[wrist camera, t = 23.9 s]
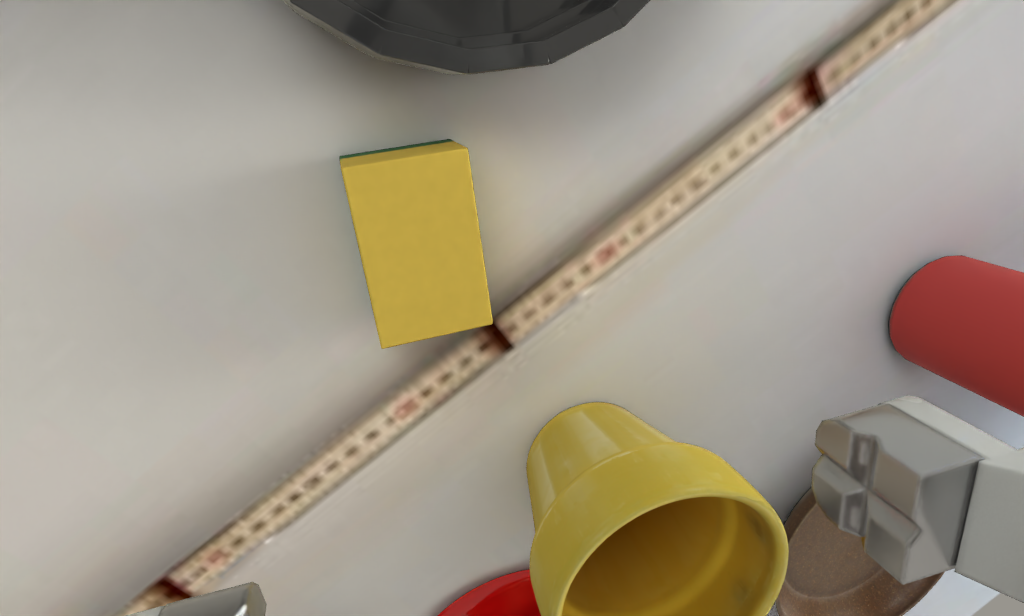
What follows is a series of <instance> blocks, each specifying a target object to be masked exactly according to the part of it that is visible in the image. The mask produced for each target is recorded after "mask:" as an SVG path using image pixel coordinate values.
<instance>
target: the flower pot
mask: <svg viewBox="0 0 1024 616" xmlns="http://www.w3.org/2000/svg"><path fill="white" fill-rule="evenodd" d="M526 469H527V478H528V485H529V491H530V498H531V505H532V512H533V519H534V526H535V536H534V539H533V543H532V547H531V552H530V577H531V583H532V587H533V590H534V594H535V598H536V601H537V604H538V607H539V610H540V614H541V616H766V615H767V614H768V612H769V611H770V609H771V607H772V606H773V604H774V602H775V600H776V599H777V597H778V595H779V592H780V590H781V588H782V585H783V582H784V579H785V575H786V571H787V565H788V553H789V549H788V541H787V535H786V532H785V529H784V526H783V524H782V522H781V520H780V518H779V516H778V515H777V513H776V512H775V510H774V509H773V507H772V506H771V505H770V504H769V503H768V502H767V501H766V500H765V499H764V498H763V496H762V495H761V494H760V493H759V492H758V491H757V490H756V489H755V488H754V487H753V486H752V485H751V484H750V483H749V482H748V481H747V480H746V479H745V478H743V477H742V476H741V475H740V474H739V473H738V472H737V471H736V470H735V469H734V468H732V467H731V466H730V465H729V464H728V463H727V462H725V461H724V460H723V459H722V458H720V457H719V456H717V455H716V454H714V453H712V452H711V451H709V450H706V449H704V448H701V447H698V446H695V445H691V444H687V443H679V442H675V441H674V440H672V439H670V438H669V437H667V436H666V435H664V434H663V433H661V432H660V431H658V430H656V429H655V428H653V427H652V426H650V425H648V424H647V423H645V422H644V421H642V420H641V419H639V418H638V417H636V416H635V415H633V414H632V413H630V412H629V411H627V410H625V409H624V408H622V407H619V406H617V405H614V404H610V403H604V402H592V403H585V404H581V405H577V406H574V407H572V408H569V409H567V410H565V411H563V412H561V413H559V414H558V415H557V416H555V417H554V418H553V419H552V420H550V421H549V422H548V423H547V424H546V425H545V426H544V427H543V428H542V429H541V431H540V432H539V434H538V435H537V437H536V438H535V440H534V442H533V444H532V446H531V448H530V451H529V454H528V459H527V467H526Z"/></svg>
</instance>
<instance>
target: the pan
mask: <svg viewBox="0 0 1024 616" xmlns="http://www.w3.org/2000/svg"><path fill="white" fill-rule="evenodd" d="M283 1H284V2H285V3H286V4H287V5H288V6H289V7H290V8H291V9H292V10H293V11H295V12H296V13H297V14H298V15H300V16H302V17H304V18H305V19H307V20H309V21H310V22H312V23H314V24H316V25H317V26H319V27H321V28H322V29H324V30H326V31H328V32H329V33H331V34H333V35H334V36H336V37H338V38H340V39H341V40H343V41H345V42H346V43H348V44H350V45H352V46H353V47H355V48H357V49H358V50H360V51H362V52H364V53H365V54H367V55H369V56H370V57H373V58H376V59H380V60H385V61H389V62H394V63H398V64H403V65H407V66H412V67H416V68H421V69H425V70H430V71H434V72H439V73H443V74H448V75H463V74H477V73H485V72H493V71H502V70H510V69H518V68H526V67H534V66H543V65H548V64H552V63H554V62H556V61H558V60H560V59H562V58H564V57H566V56H568V55H570V54H572V53H574V52H576V51H578V50H580V49H582V48H584V47H586V46H588V45H590V44H592V43H594V42H596V41H598V40H600V39H602V38H604V37H606V36H608V35H610V34H612V33H614V32H616V31H617V30H619V29H621V28H622V27H624V26H625V25H626V24H627V23H628V22H629V21H630V20H631V19H632V18H633V17H634V16H635V15H636V14H637V13H638V12H639V11H640V10H641V9H642V8H643V7H644V6H645V5H646V4H647V3H648V2H649V1H650V0H283Z"/></svg>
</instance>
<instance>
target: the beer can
mask: <svg viewBox="0 0 1024 616" xmlns="http://www.w3.org/2000/svg"><path fill="white" fill-rule="evenodd" d="M889 332H890V337H891V340H892V342H893V345H894V348H895V349H896V351H897V352H898V353H900V354H901V355H902V356H903V357H904V358H905V359H906V360H908V361H910V362H913V363H915V364H917V365H919V366H921V367H923V368H925V369H927V370H929V371H931V372H933V373H935V374H937V375H939V376H941V377H943V378H945V379H947V380H949V381H952V382H954V383H956V384H958V385H960V386H962V387H964V388H966V389H968V390H970V391H972V392H974V393H976V394H978V395H980V396H982V397H984V398H986V399H988V400H990V401H993V402H995V403H997V404H999V405H1001V406H1003V407H1005V408H1007V409H1009V410H1011V411H1013V412H1015V413H1017V414H1019V415H1021V416H1023V417H1024V273H1022V272H1019V271H1015V270H1012V269H1008V268H1005V267H1001V266H998V265H994V264H990V263H987V262H983V261H980V260H976V259H973V258H969V257H965V256H962V255H961V256H946V257H942V258H940V259H938V260H935V261H933V262H930V263H928V264H926V265H925V266H924V267H922V268H921V269H920V270H918V271H917V272H916V273H914V274H913V275H912V276H911V278H910V279H909V280H908V281H907V282H906V284H905V285H904V286H903V287H902V288H901V290H900V292H899V294H898V296H897V298H896V300H895V302H894V304H893V307H892V311H891V315H890V319H889Z"/></svg>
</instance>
